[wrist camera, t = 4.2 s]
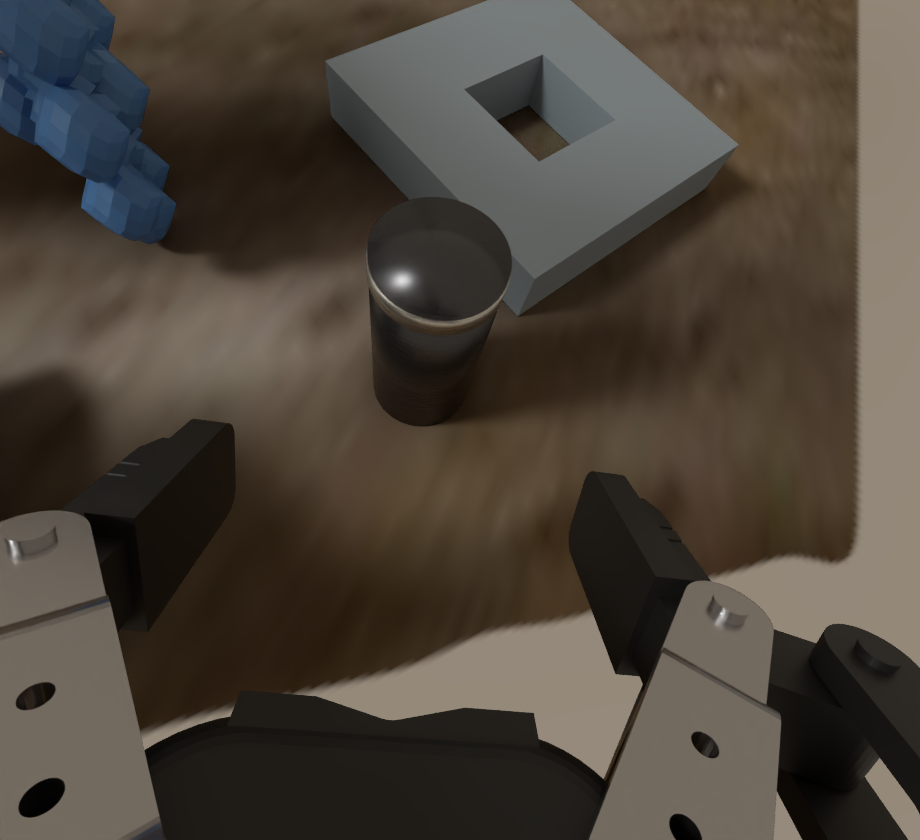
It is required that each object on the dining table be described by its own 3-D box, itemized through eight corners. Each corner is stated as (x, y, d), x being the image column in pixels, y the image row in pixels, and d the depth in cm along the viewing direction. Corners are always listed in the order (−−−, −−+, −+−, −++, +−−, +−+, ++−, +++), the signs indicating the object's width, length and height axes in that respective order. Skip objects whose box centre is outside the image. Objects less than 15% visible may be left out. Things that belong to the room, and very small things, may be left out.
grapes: (51, 131, 28) (-171, -188, 17) (179, 117, 29) (55, -181, 18) (71, 300, 24) (-193, 41, 13) (215, 274, 26) (88, 25, 15)
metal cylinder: (353, 373, 25) (334, 235, 16) (428, 325, 27) (451, 175, 17) (412, 446, 24) (429, 344, 15) (486, 392, 26) (543, 270, 16)
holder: (331, 116, 31) (325, 60, 28) (531, 32, 37) (545, -21, 34) (517, 316, 28) (534, 279, 25) (705, 188, 34) (738, 145, 31)
